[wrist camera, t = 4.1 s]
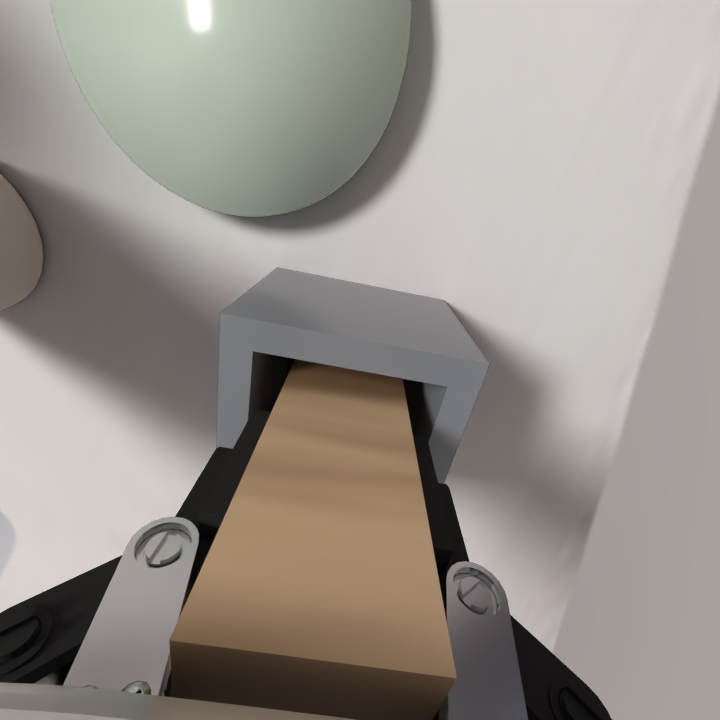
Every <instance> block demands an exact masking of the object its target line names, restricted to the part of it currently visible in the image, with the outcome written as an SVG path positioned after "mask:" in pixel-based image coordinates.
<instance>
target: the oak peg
mask: <svg viewBox="0 0 720 720" xmlns="http://www.w3.org/2000/svg"><path fill="white" fill-rule="evenodd" d="M169 645H170V661H171V678H172V695H173V697H174V698H182V699H191V700H199V701H208V702H216V703H225V704H234V705H242V706H250V707H258V708H267V709H275V710H283V711H291V712H299V713H308V714H316V715H324V716H332V717H340V718H348V719H356V720H433V718H434V717H435V715H436V713H437V711H438V710H439V708H440V706H441V705H442V703H443V701H444V699H445V698H446V696H447V694H448V693H449V691H450V689H451V687H452V686H453V684H454V682H455V681H456V679H457V676H456V671H455V665H454V660H453V654H452V649H451V643H450V638H449V632H448V627H447V621H446V616H445V610H444V605H443V599H442V594H441V588H440V583H439V577H438V572H437V566H436V561H435V555H434V550H433V544H432V539H431V533H430V528H429V522H428V517H427V511H426V506H425V500H424V495H423V489H422V484H421V478H420V473H419V467H418V462H417V456H416V451H415V445H414V440H413V434H412V429H411V423H410V418H409V412H408V407H407V401H406V396H405V390H404V385H403V379H402V378H397V377H391V376H386V375H380V374H375V373H369V372H364V371H358V370H353V369H347V368H342V367H336V366H331V365H326V364H320V363H315V362H309V361H304V360H298V359H295V360H294V363H293V365H292V367H291V369H290V371H289V374H288V376H287V378H286V380H285V383H284V385H283V387H282V389H281V392H280V394H279V396H278V398H277V400H276V403H275V405H274V407H273V409H272V412H271V414H270V416H269V418H268V421H267V423H266V425H265V427H264V430H263V432H262V434H261V436H260V438H259V441H258V443H257V445H256V447H255V450H254V452H253V454H252V456H251V459H250V461H249V463H248V465H247V468H246V470H245V472H244V474H243V476H242V479H241V481H240V483H239V485H238V488H237V490H236V492H235V494H234V497H233V499H232V501H231V503H230V506H229V508H228V510H227V512H226V514H225V517H224V519H223V521H222V523H221V526H220V528H219V530H218V532H217V535H216V537H215V539H214V541H213V544H212V546H211V548H210V550H209V552H208V555H207V557H206V559H205V561H204V564H203V566H202V568H201V570H200V573H199V575H198V577H197V579H196V582H195V584H194V586H193V588H192V590H191V593H190V595H189V597H188V599H187V602H186V604H185V606H184V608H183V611H182V613H181V615H180V617H179V619H178V622H177V624H176V626H175V628H174V631H173V633H172V635H171V637H170V640H169Z"/></svg>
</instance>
